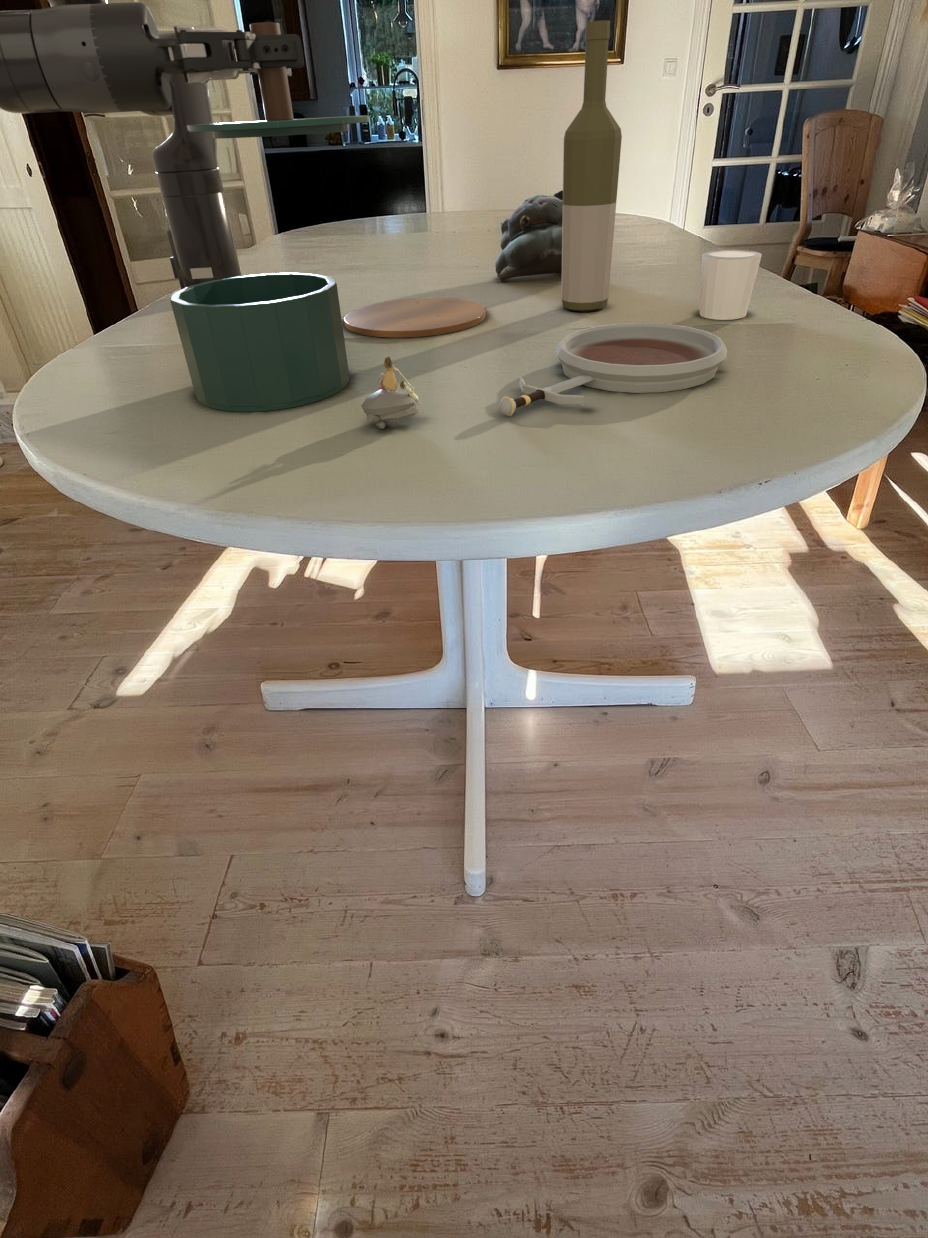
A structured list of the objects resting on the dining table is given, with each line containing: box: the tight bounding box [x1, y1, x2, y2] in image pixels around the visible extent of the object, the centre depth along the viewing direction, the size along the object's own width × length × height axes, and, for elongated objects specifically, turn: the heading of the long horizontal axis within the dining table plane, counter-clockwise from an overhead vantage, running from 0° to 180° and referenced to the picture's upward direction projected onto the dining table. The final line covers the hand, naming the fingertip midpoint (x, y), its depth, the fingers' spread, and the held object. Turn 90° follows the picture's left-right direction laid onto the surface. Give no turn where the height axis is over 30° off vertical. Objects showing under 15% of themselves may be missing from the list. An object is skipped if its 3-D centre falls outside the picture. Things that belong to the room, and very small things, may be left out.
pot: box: [170, 272, 350, 413], centre depth 72 cm, size 16×16×10 cm
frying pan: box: [498, 322, 729, 417], centre depth 70 cm, size 17×3×28 cm
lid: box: [188, 21, 370, 140], centre depth 65 cm, size 17×17×8 cm
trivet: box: [343, 297, 487, 339], centre depth 96 cm, size 19×19×1 cm
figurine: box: [360, 356, 422, 430], centre depth 62 cm, size 5×4×6 cm
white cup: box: [699, 249, 763, 321], centre depth 88 cm, size 7×7×7 cm
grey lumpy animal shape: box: [494, 189, 563, 282], centre depth 113 cm, size 15×12×14 cm
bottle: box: [561, 20, 623, 312], centre depth 88 cm, size 7×7×30 cm
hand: (301, 51), depth 65 cm, fingers closed on lid, 2 cm apart
